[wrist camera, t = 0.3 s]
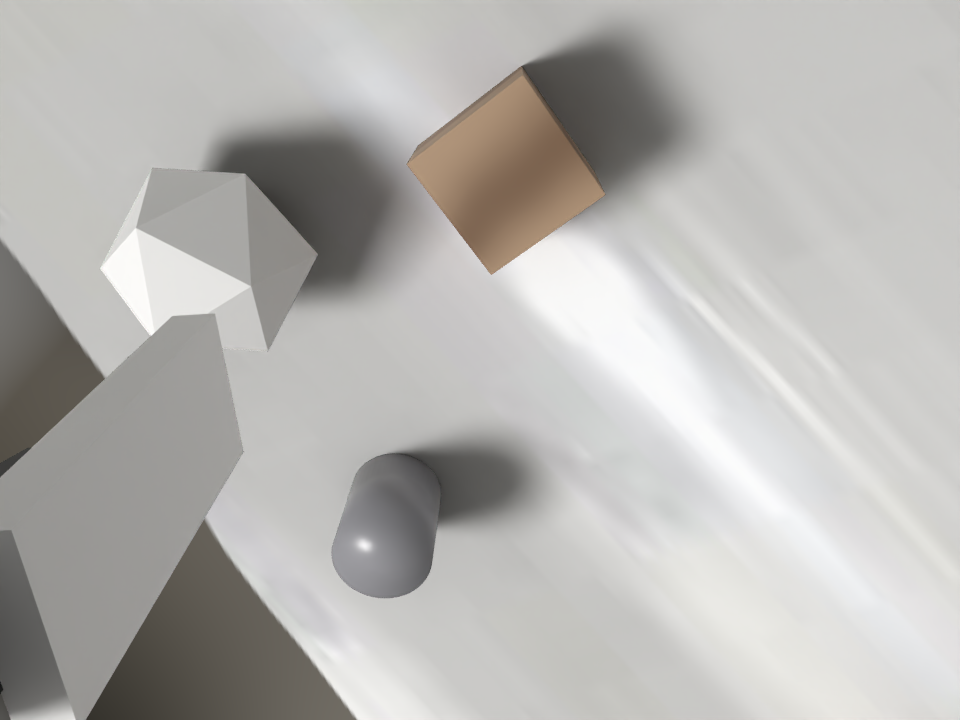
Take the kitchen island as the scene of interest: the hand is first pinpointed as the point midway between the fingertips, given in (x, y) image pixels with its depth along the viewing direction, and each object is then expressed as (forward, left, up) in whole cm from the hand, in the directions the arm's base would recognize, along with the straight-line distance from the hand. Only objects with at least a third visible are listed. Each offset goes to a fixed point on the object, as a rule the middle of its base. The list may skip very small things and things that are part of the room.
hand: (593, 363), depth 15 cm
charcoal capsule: (+17, -13, -27) cm, 35 cm away
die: (+1, -16, -28) cm, 32 cm away
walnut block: (+1, -2, -28) cm, 28 cm away
